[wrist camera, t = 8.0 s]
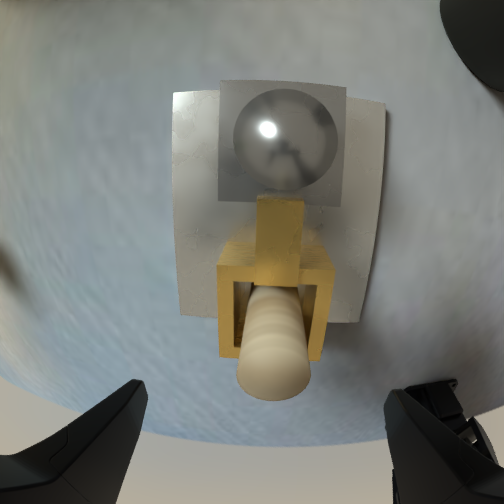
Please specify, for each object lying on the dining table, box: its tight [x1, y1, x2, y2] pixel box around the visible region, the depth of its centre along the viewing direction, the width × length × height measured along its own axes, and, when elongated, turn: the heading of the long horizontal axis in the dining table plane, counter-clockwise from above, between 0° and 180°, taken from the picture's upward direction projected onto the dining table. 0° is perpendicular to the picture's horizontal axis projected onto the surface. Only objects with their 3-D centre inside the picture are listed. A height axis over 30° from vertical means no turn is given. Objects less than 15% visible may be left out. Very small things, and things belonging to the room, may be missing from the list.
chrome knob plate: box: [172, 80, 386, 361], centre depth 14 cm, size 14×12×7 cm
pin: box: [236, 282, 311, 401], centre depth 14 cm, size 3×3×8 cm
